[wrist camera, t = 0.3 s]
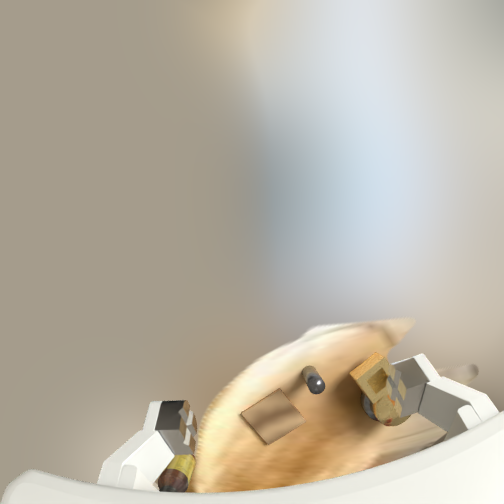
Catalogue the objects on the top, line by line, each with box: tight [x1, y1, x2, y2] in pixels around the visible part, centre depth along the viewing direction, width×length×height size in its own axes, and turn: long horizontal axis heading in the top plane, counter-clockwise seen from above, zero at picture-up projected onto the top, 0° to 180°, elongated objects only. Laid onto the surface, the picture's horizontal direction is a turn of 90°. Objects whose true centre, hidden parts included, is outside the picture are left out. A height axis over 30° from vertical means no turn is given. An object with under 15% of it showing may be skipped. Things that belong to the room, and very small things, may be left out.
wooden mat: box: [241, 388, 306, 445], centre depth 60 cm, size 10×10×1 cm
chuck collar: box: [349, 352, 411, 426], centre depth 55 cm, size 16×9×5 cm, turn 36°
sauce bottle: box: [158, 454, 196, 493], centre depth 50 cm, size 6×6×20 cm
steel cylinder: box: [302, 366, 325, 394], centre depth 57 cm, size 3×3×10 cm
